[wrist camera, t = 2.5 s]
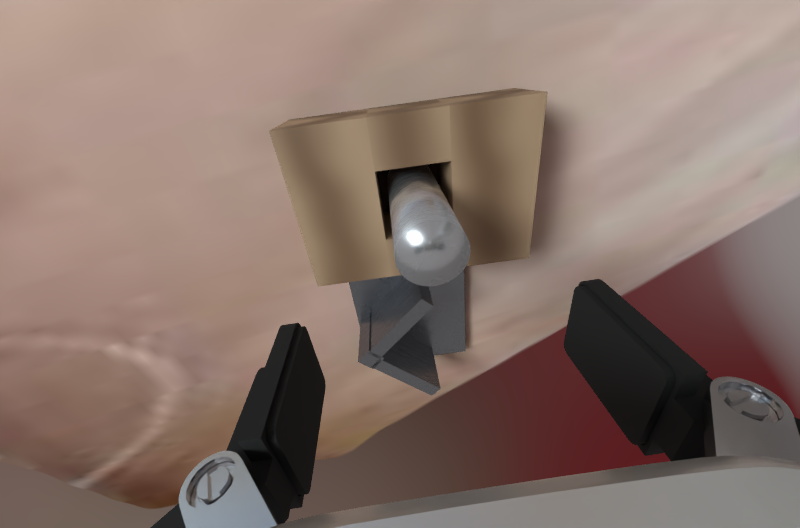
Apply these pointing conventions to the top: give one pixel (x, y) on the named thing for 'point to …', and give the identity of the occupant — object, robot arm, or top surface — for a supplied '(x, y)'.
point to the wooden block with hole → (405, 147)
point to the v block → (409, 326)
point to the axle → (424, 228)
